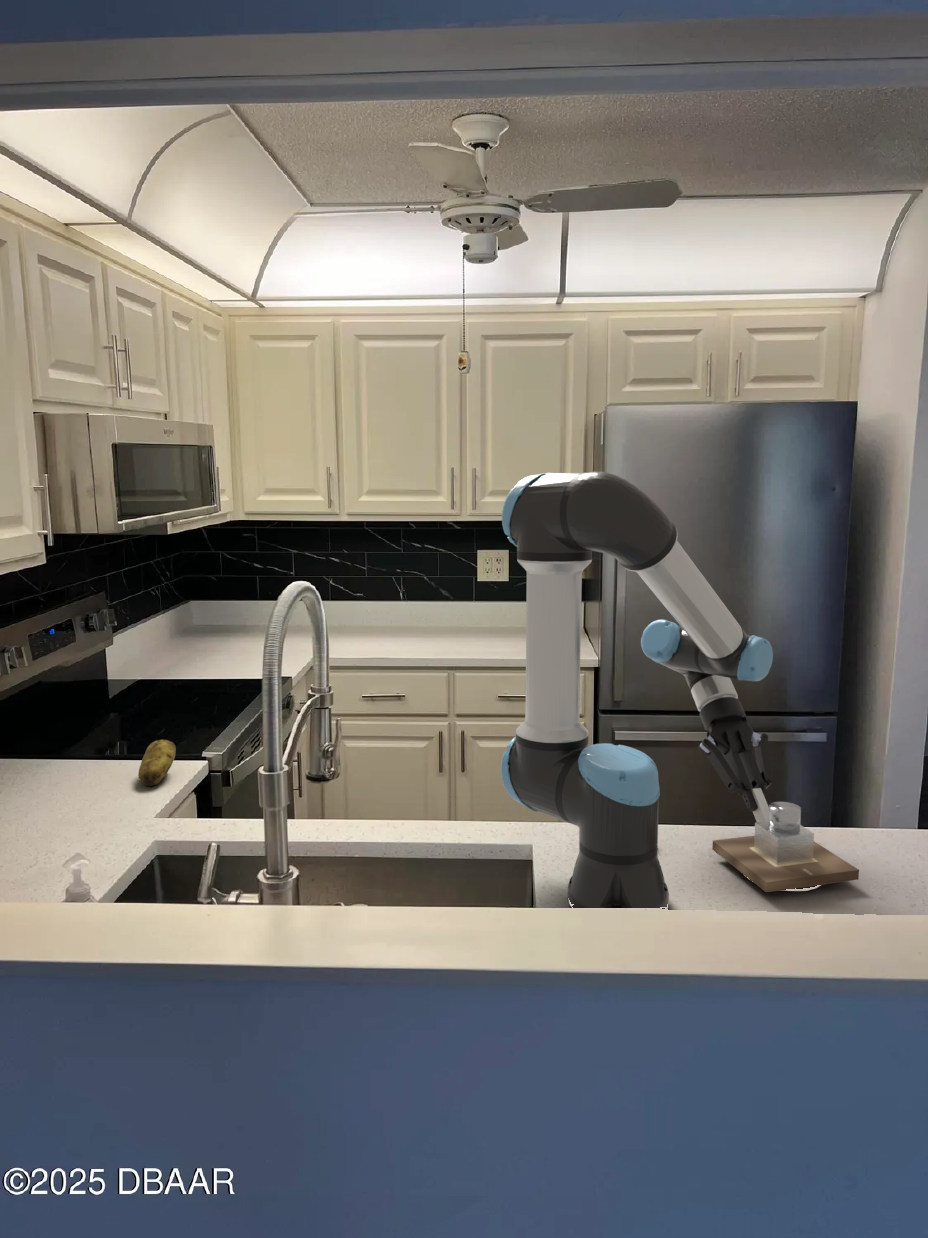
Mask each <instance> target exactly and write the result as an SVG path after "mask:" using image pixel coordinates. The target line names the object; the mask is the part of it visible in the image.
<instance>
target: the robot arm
mask: <svg viewBox="0 0 928 1238" xmlns="http://www.w3.org/2000/svg"><path fill="white" fill-rule="evenodd" d="M501 520H502V521H501V525H502V529H503V532H504V534H505V535H506V536H507V539H508V541H509V542H510V543H511V544H512V545H513V546H514V547H516V553H517V554H516V557H517V558H516V560H517V562H518V564H519V565H520V566H521V567H522V568H523V569H524V570H525V571H526V609H525V610H526V611H525V612H526V614H525V616H526V621H525V623H526V624H525V627H526V629H525V634H526V635H525V637H526V638H525V715H524V716H525V718H524V721H523V722H521V724H520V725H519V726H518V727H517V728H516V730H515V736H514V737H513V738H512V739H511V740H510V741H509V742H508V743H507V745H506V749H507V750H506V751H504V752H503V753H502V757H501V760H500V776H501V781H502V784H503V787H504V789H505V791H506V792H507V794H508V795H509V796H510V797H511V798H512V799H513V800H514V801H515V802H516V803H519V804H521V805H522V806H525V807H526V808H527V809H529V810H531V811H533V812H539V813H542V814H543V815H547V816H550V817H552V818H555V819H557V820H560V821H563V822H565V823H568V824H571V825H574V826H576V827H577V828H578V831H579V832H578V835H579V836H578V837H579V838H578V839H579V843H578V844H579V845H578V847H579V849H578V850H579V851H578V855H577V856H576V857H577V858H576V860H575V864H574V868H573V872H572V876H571V877H570V878H569V881H568V884H567V899H568V898H569V900H570V902H571V904H574V905H573V906H572V907H573V908H660V907H667V904H668V902H669V903H670V893H669V892H670V891H669V887H668V885H667V883H666V882H665V877H664V873H663V869H662V866H661V864H660V863H661V862H660V860H659V856H658V853H659V852H658V847H659V846H658V843H659V840H658V839H659V810H660V809H659V807H660V806H659V805H660V801H659V800H660V795H661V788H660V784H659V771H658V768H657V767H658V766H657V764H656V762H655V761H654V760H653V759H652V758H651V757H650V756H649V755H647V754H646V753H644V752H643V751H641V750H639V749H637V748H634V747H630V746H627V745H623V744H618V745H617V744H616V745H615V744H614V743H608V742H607V743H605V742H604V743H595V744H591V745H589V736H590V734H589V730H588V729H587V728H586V727H585V726H584V725H583V724H582V723H581V721H580V704H581V703H580V698H581V697H580V696H581V693H580V690H581V646H582V645H581V644H582V643H581V642H582V641H581V640H582V638H581V635H582V586H583V585H582V584H583V580H582V579H583V571H584V570H585V569H587V567H588V566H589V565H591V563H592V561H593V552H598V553H602V554H605V555H608V556H610V557H612V558H614V559H616V560H617V561H618V562H619V564H620V565H621V566H622V567H623V568H624V569H625V570H627V571H630V572H636V574H637V575H638V576H639V577H640V578H641V580H642V581H643V582H644V583H645V584H646V586H647V587H648V588H649V589H650V591H652V593H653V595H655V597H656V598H657V599H658V600H659V602H660V603H661V604H662V605H663V606H664V607H665V609H666V610H667V611H668V612H669V614H670V615H671V616H672V617H673V618H674V620H675V621H676V623H675V621H669V620H667V619H657V620H656V619H655V620H654V621H652V622H651V623H649V624H648V625H647V626H646V627H645V628H644V630H643V632H642V635H641V638H640V646H641V650H642V652H643V654H644V655H645V656H646V657H647V658H648V659H650V660H652V661H653V662H654V663H656V664H660V665H662V666H664V667H666V668H668V669H670V670H672V671H675V672H677V673H679V674H680V675H683V676H684V679H685V681H686V683H687V686H688V687H689V690H690V693H691V695H692V698H693V700H694V703H695V706H696V709H697V711H698V712H699V717H700V719H701V722H702V724H703V727H704V730H705V731H706V738H704V739H703V740H702V742H700V744H699V745H698V747H697V748H698V750H699V751H700V752H701V753H702V754H704V756H705V757H707V759H708V760H709V762H710V764H711V766H712V767H713V768H714V770H715V771H716V773H717V774H718V776H719V778H720V779H721V781H722V783H723V784H724V785H725V787H726V788H727V789H728V790H727V791H728V792H730V793H737V796H738V797H740V798H743V801H744V804H745V805H746V809H747V810H748V812H752V813H753V815H754V818H755V821H756V822H764V821H768V820H769V804H770V803H772V802H771V799H770V798H769V795H768V793H767V789H768V788H769V787H770V786H771V785H772V784H773V782H774V778H773V773H772V768H771V761H770V756H769V751H768V743H769V742H768V741H769V735H768V734H767V733H764V732H763V733H762V734H760V733H757V732H755V731H754V729H753V727H752V726H751V725H749V723H748V720H747V716H746V715H747V714H746V712H745V709H744V708H743V705H742V703H741V701H740V699H739V697H738V696H739V695H738V692H737V691H736V689H735V686H734V684H733V681H732V679H734V680H738V681H748V682H759V681H762V680H763V679H765V678H766V677H767V675H769V672H770V669H771V667H772V664H773V657H774V652H773V647H772V645H771V643H770V641H769V640H768V639H766V638H763V637H761V636H757V635H754V634H753V635H748V634H747V632H745V630H744V629H743V628H742V627H741V625H740V624H739V623H738V621H737V619H736V618H735V617H734V616H733V614H732V613H731V612H730V610H729V609H728V607H727V606H726V604H724V602H723V600H721V597H720V596H718V594H717V593H716V591H715V590H714V588H713V587H712V586H711V585H710V583H709V582H708V580H707V579H706V577H705V576H704V575H703V573H702V572H701V571H700V569H698V567H697V566H696V564H695V563H694V562H693V560H692V559H691V558H690V556H689V555H688V553H687V552H686V551H685V550H684V548H683V547H682V545H681V544H680V542H679V541H678V537H679V532H678V529H677V527H676V525H675V524H674V523H673V521H672V520H671V518H670V517H669V516H668V515H667V514H666V512H665V511H664V510H663V509H662V508H661V507H660V505H659V504H657V503H656V502H655V500H654V499H652V498H651V497H650V496H649V495H648V494H646V493H645V492H644V491H643V490H641V488H639V487H638V486H636V484H634V483H632V482H630V481H629V480H627V479H625V478H623V477H621V476H619V475H617V474H613V473H610V472H606V471H589V472H543V473H538V474H532V475H528V476H525V477H524V478H522V479H520V480H519V481H517V482H516V484H515V485H514V486H513V488H511V489H510V490H509V492H508V494H507V496H506V498H505V500H504V504H503V508H502V513H501ZM677 623H678V624H677ZM751 742H752V745H751ZM752 746H753V747H754V755H753V749H752ZM662 909H665V908H662Z"/></svg>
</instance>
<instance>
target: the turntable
mask: <svg viewBox="0 0 928 1238" xmlns="http://www.w3.org/2000/svg"><path fill="white" fill-rule="evenodd" d="M754 841H755V835H748V836H739V837H732V838H724V839H723V838H722V839H715V840H712V851H713V852H715V853H716V854H718V856H720V857H721V858H722V859H724V860H725V861H726V862H728V864H730V865H731V866H732V867H734V868H735V869H736V870H738V871H739V872H740V873H741V874H742V873H743V874H744V875H745V876H746V877H748V878H749V879H750V880H751V881H753V882H754V883H753V882H752V883H753V884H755V885H757V886H758V887H759V888H760V889H761V890H763V892H765V893H770V892H778V891H779V890H786V889H794V888H801V887H808V886H815V885H822V886H823V885H828V884H836V883H837V884H838V883H844V882H851V881H858V880H859V878H860V877H859V876H860V869H858V868H857V867H855V866H854V865H852V864H850V863H849V862H848V861H846V860H844V859H843V858H841V857H839V856H838V855H836V854H835V853H833V852H832V851H830V850H829V849H827V848H825V847H824V846H822V845H820V843H817V842H816V841H814V844H813V860H810V861H803V862H795V863H788V864H780V865H776V864H775V863H774V862H772V861H771V860H769V859H768V858H767V857H765V856H764V855H762V854H761V853H760V852H758V851H757V850H755V849H754ZM750 880H749V881H750ZM751 881H750V882H751Z"/></svg>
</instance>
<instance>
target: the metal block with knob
mask: <svg viewBox="0 0 928 1238" xmlns="http://www.w3.org/2000/svg"><path fill="white" fill-rule="evenodd" d="M801 816H802V807H801V806H799V805H798V804H795V803H792V802H788V801H774V802H771V803H770V804H769V820H768V821H764V822H757V821H756V822H754V836H755V841H754V849H755V850H757V851H758V852H760V853H761V854H762V855H764V856H765V857H767V858H768V859H769V860H771V861H772V862H774V863H775V864H776V865H780V864H788V863H795V862H803V861H810V860H813V844H814V842H815V839H814V838H815V833H814V832H813V831H811V830H810V829H809V828H806V827H805V826H803V825H802V824H801V818H802V817H801Z"/></svg>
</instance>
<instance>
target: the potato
mask: <svg viewBox="0 0 928 1238" xmlns="http://www.w3.org/2000/svg"><path fill="white" fill-rule="evenodd" d="M176 749H177V748H176V745H175V743H174V742H173V741H170V740H168V739H159V740H158V739H156V740H154V741H153V742H151V743H149V745H148V746H147V748H146V750H145V753H144V755H143V757H142V760H141V762H140V766H139V768H138V779H139V781H140V782H141V783H142V784H144V785H145V786H148V787H152V786H155V785H157V784H159V783H160V782H162V780H163V779H164V777H165V776H166V774H167V773H168V772H169V771H170V769H171V767H172V765H173V762H174V761H175V757H176V751H177V750H176Z"/></svg>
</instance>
